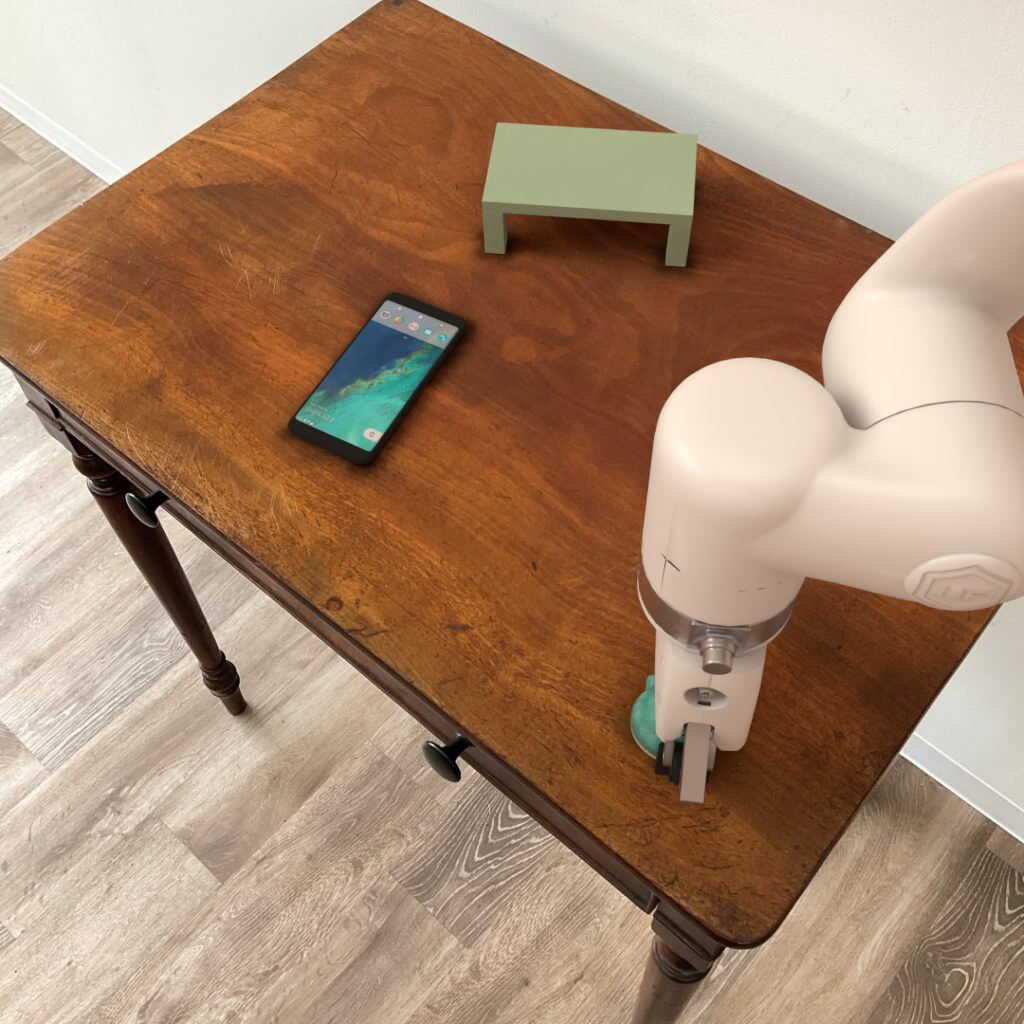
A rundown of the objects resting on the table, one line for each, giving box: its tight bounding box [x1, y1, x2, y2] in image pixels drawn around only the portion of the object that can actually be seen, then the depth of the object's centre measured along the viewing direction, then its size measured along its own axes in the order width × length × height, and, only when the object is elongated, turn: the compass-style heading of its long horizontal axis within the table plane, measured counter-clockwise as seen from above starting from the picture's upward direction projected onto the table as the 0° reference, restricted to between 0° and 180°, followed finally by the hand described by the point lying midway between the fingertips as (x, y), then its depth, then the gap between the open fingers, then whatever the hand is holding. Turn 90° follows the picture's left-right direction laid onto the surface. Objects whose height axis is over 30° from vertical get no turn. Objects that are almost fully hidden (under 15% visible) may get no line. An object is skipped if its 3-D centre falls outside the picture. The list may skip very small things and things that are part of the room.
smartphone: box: [287, 291, 468, 465], centre depth 82 cm, size 7×1×15 cm
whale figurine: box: [630, 673, 684, 760], centre depth 66 cm, size 6×7×4 cm
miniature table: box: [481, 122, 699, 268], centre depth 88 cm, size 16×9×6 cm, turn 83°
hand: (684, 710), depth 67 cm, fingers closed on whale figurine, 7 cm apart
